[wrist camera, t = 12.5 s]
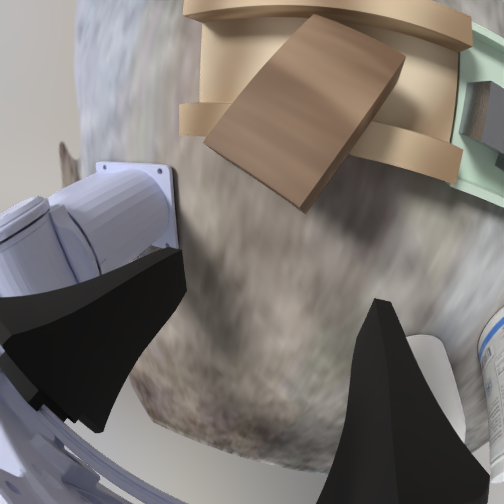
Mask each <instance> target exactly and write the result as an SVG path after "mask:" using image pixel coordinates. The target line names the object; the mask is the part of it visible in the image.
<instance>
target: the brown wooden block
mask: <svg viewBox="0 0 504 504" xmlns="http://www.w3.org/2000/svg"><path fill="white" fill-rule="evenodd" d="M405 58H406V56H405V55H403V54H402V53H400V52H398V51H397V50H395V49H393V48H391V47H389V46H387V45H386V44H384V43H382V42H380V41H378V40H376V39H374V38H372V37H370V36H368V35H365V34H363V33H361V32H359V31H357V30H354V29H352V28H350V27H347V26H345V25H343V24H340V23H338V22H335V21H332V20H330V19H327V18H324V17H321V16H319V15H316V14H313V15H312V16H311V17H310V18H309V19H308V20H307V21H306V22H305V23H304V24H303V25H302V26H301V27H300V28H299V29H298V30H297V31H296V32H295V33H294V34H293V35H292V36H291V37H290V38H289V39H288V40H287V41H286V42H285V43H284V44H283V45H282V46H281V47H280V48H279V49H278V50H277V52H276V53H275V54H274V55H273V56H272V57H271V58H270V59H269V60H268V61H267V63H266V64H265V65H264V66H263V67H262V68H261V69H260V70H259V72H258V73H257V74H256V75H255V76H254V77H253V79H252V80H251V81H250V82H249V83H248V85H247V86H246V87H245V88H244V89H243V91H242V92H241V93H240V94H239V95H238V97H237V98H236V99H235V100H234V102H233V103H232V104H231V106H230V107H229V108H228V109H227V111H226V112H225V113H224V115H223V116H222V117H221V118H220V120H219V121H218V122H217V124H216V125H215V126H214V128H213V129H212V131H211V132H210V133H209V135H208V136H207V137H206V139H205V140H204V142H203V143H204V144H205V145H207V146H208V147H209V148H211V149H212V150H214V151H215V152H216V153H218V154H219V155H220V156H222V157H223V158H224V159H226V160H228V161H229V162H231V163H232V164H234V165H235V166H237V167H238V168H240V169H241V170H243V171H244V172H246V173H247V174H249V175H250V176H252V177H253V178H255V179H256V180H258V181H259V182H261V183H262V184H263V185H265V186H266V187H268V188H269V189H271V190H272V191H274V192H275V193H276V194H278V195H279V196H281V197H282V198H284V199H285V200H286V201H288V202H289V203H291V204H292V205H293V206H295V207H296V208H297V209H299V210H300V211H302V212H303V213H304V214H306V213H307V211H308V210H309V208H310V207H311V206H312V204H313V203H314V202H315V200H316V199H317V197H318V196H319V195H320V193H321V192H322V190H323V189H324V188H325V186H326V185H327V183H328V182H329V181H330V179H331V178H332V176H333V175H334V174H335V172H336V171H337V169H338V168H339V167H340V165H341V164H342V162H343V161H344V160H345V158H346V157H347V155H348V154H349V152H350V151H351V150H352V148H353V147H354V145H355V144H356V142H357V141H358V140H359V138H360V137H361V135H362V134H363V132H364V131H365V129H366V128H367V127H368V125H369V124H370V122H371V121H372V119H373V118H374V116H375V115H376V113H377V112H378V111H379V109H380V108H381V106H382V105H383V103H384V102H385V100H386V99H387V97H388V96H389V94H390V93H391V91H392V90H393V88H394V87H395V85H396V84H397V82H398V79H399V77H400V74H401V71H402V68H403V65H404V62H405Z"/></svg>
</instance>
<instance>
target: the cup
mask: <svg viewBox="0 0 504 504" xmlns="http://www.w3.org/2000/svg"><path fill="white" fill-rule="evenodd" d="M406 338H407V341H408V343H409V345H410V347H411V350H412V352H413V354H414V357H415V359H416V361H417V363H418V365H419V367H420V369H421V371H422V374H423V376H424V378H425V380H426V382H427V384H428V386H429V387H430V389H431V391H432V393H433V395H434V396H435V398H436V400H437V402H438V404H439V406H440V407H441V409H442V411H443V412H444V414H445V415H446V417H447V419H448V420H449V422H450V423H451V425H452V427H453V428H454V430H455V431H456V433H457V434H458V436H459V437H460V439H461V440H462V441H463V443H464V444H465V431H466V423H465V417H464V412H463V408H462V404H461V400H460V396H459V392H458V389H457V385H456V382H455V378H454V375H453V372H452V368H451V365H450V362H449V359H448V356H447V353H446V350H445V347H444V345H443V343H442V342H441V341H440V340H439V339H438V338H436V337H434V336H431V335H413V336H408V337H406Z"/></svg>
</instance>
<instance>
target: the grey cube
mask: <svg viewBox="0 0 504 504" xmlns="http://www.w3.org/2000/svg"><path fill="white" fill-rule="evenodd" d="M458 133H460V134H462V135H464V136H466V137H468V138H470V139H472V140H474V141H476V142H478V143H480V144H482V145H484V146H486V147H487V148H489V149H491V150H493V151H495V152H496V153H498V154H500V155H502V156H504V88H502V87H501V86H499V85H498V84H496V83H494V82H493V81H479V82H470V83H467V86H466V93H465V100H464V106H463V112H462V117H461V122H460V127H459V132H458Z"/></svg>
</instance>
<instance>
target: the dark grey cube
mask: <svg viewBox="0 0 504 504" xmlns="http://www.w3.org/2000/svg"><path fill="white" fill-rule="evenodd" d="M495 166H496V167H498V168H499V169H500V170H502V171H503V172H504V156H502V155H500V154H498V157H497V160H496V163H495Z"/></svg>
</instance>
